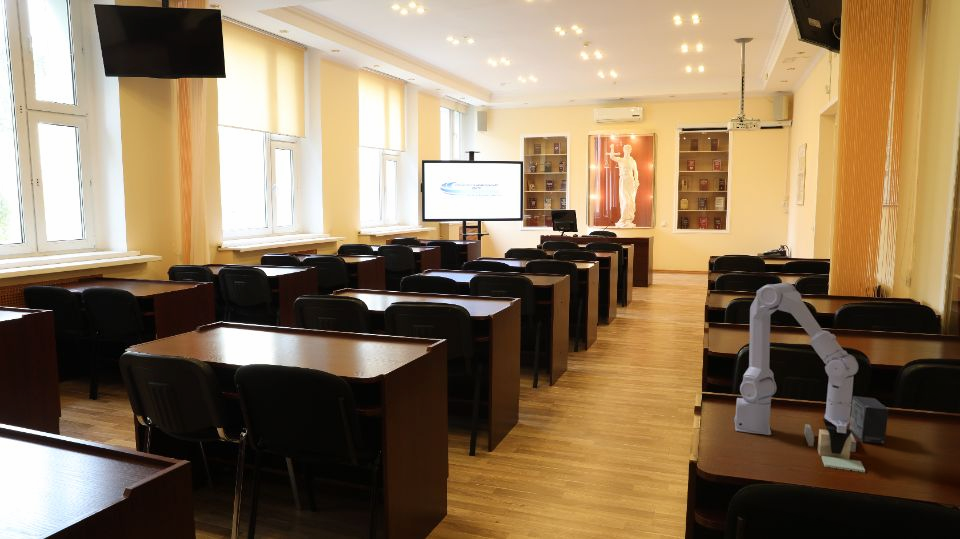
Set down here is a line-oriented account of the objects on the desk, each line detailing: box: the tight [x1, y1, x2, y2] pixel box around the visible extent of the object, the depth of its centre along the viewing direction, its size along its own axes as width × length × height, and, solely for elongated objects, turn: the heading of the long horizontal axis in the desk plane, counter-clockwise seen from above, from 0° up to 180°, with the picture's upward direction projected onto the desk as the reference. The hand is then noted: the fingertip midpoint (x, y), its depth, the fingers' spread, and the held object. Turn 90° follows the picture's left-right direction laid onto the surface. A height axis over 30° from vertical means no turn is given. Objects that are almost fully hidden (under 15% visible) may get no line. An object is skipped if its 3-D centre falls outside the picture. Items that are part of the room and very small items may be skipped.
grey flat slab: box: [804, 424, 857, 453], centre depth 185 cm, size 11×10×3 cm
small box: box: [848, 395, 889, 445], centre depth 189 cm, size 11×6×10 cm, turn 168°
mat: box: [821, 456, 866, 473], centre depth 170 cm, size 9×6×1 cm, turn 70°
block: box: [817, 428, 851, 460], centre depth 176 cm, size 7×4×6 cm, turn 70°
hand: (834, 450), depth 176 cm, fingers closed on block, 4 cm apart
